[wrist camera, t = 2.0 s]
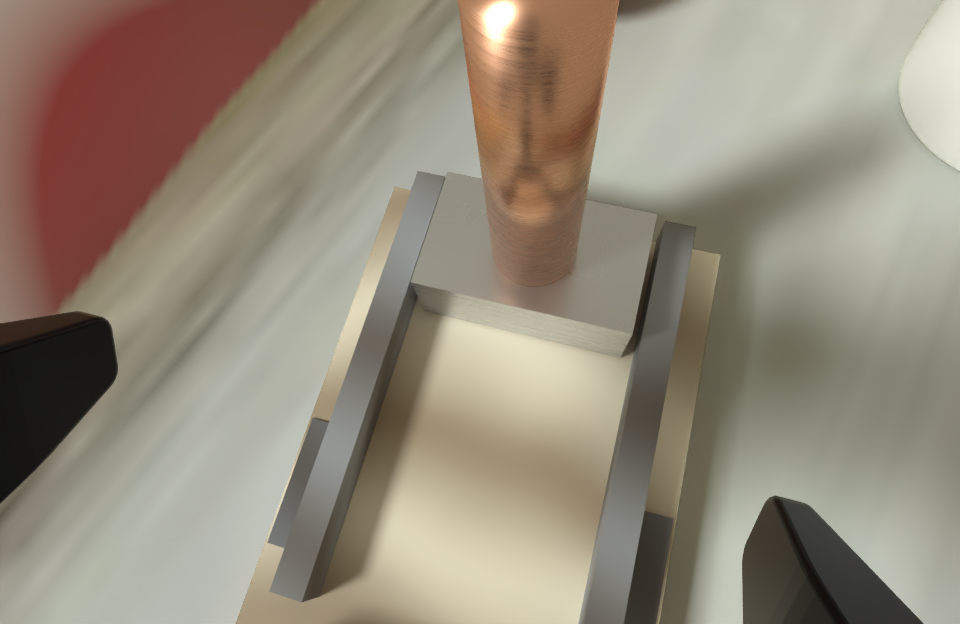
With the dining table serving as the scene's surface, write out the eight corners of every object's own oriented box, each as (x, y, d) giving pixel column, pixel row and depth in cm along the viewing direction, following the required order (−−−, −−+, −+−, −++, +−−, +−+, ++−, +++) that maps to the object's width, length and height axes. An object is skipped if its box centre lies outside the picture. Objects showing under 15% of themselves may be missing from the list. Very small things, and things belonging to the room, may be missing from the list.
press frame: (605, 870, 17) (631, 984, 13) (218, 724, 19) (127, 781, 15) (708, 272, 22) (749, 212, 18) (402, 206, 24) (375, 139, 20)
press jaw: (620, 357, 20) (750, 109, 8) (424, 310, 21) (288, 31, 9) (642, 250, 21) (784, -102, 9) (456, 210, 22) (373, -149, 10)
